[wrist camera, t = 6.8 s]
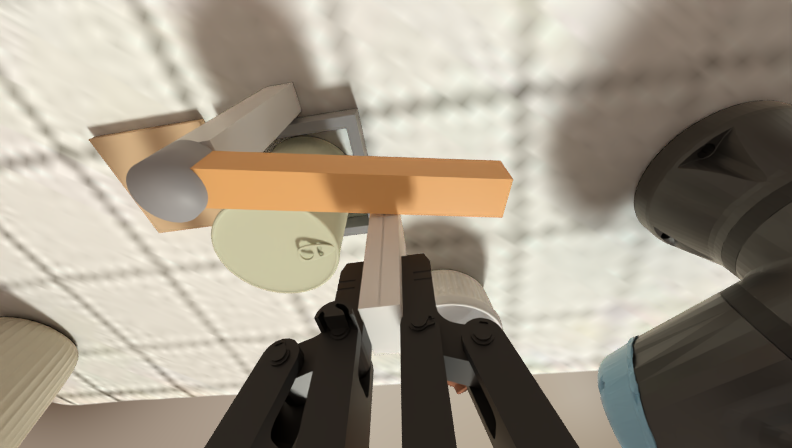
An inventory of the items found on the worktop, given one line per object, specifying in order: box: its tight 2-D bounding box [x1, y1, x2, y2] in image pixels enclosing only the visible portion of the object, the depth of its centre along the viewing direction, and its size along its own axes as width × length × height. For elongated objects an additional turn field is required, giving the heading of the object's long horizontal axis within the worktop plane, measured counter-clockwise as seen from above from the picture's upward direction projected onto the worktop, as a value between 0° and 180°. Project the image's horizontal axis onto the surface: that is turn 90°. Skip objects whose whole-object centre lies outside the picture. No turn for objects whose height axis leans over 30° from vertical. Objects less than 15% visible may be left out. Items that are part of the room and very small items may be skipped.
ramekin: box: [398, 270, 503, 356], centre depth 39 cm, size 13×13×7 cm
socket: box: [165, 82, 370, 236], centre depth 25 cm, size 12×15×14 cm
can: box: [211, 136, 348, 293], centre depth 27 cm, size 9×9×12 cm
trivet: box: [89, 119, 222, 233], centre depth 31 cm, size 11×11×1 cm
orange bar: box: [126, 140, 513, 223], centre depth 14 cm, size 3×16×2 cm, turn 88°
